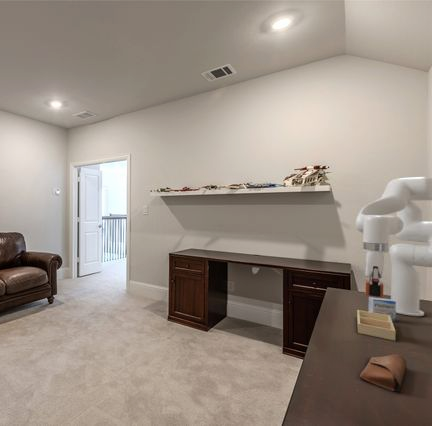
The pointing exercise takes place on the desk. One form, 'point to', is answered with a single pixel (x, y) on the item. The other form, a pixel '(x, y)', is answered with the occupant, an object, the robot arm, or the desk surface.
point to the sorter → (375, 325)
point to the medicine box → (383, 306)
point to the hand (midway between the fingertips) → (374, 293)
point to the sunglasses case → (385, 371)
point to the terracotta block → (368, 289)
